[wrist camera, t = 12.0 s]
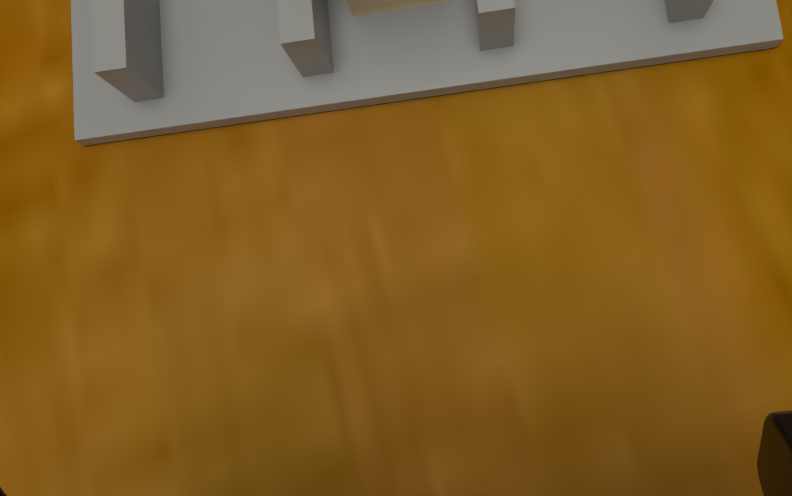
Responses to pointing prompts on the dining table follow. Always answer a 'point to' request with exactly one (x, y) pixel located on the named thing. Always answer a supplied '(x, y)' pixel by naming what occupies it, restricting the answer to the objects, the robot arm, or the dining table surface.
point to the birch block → (385, 5)
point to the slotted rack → (365, 53)
